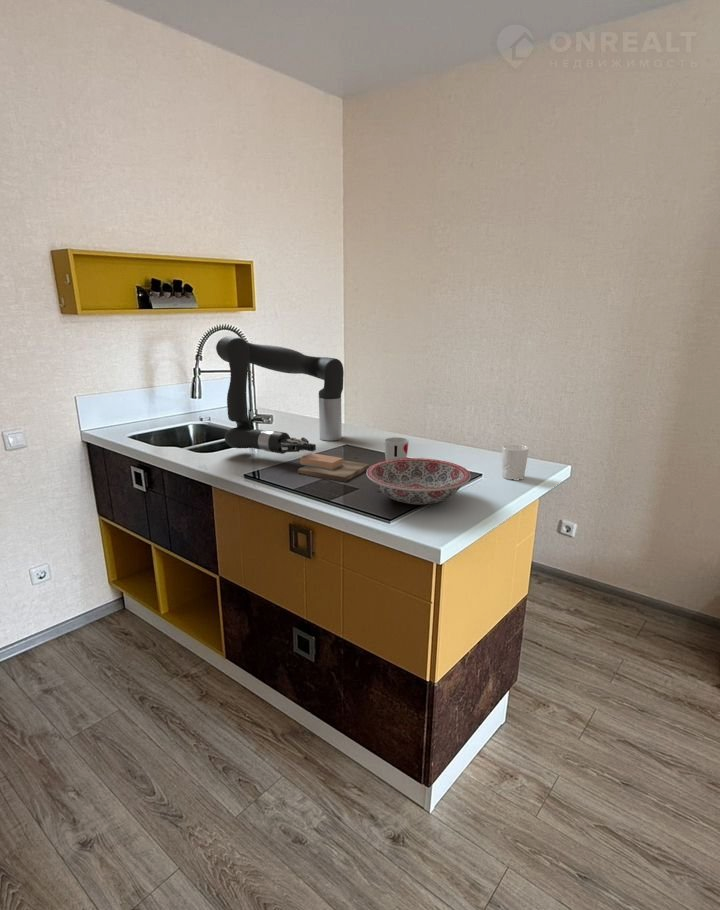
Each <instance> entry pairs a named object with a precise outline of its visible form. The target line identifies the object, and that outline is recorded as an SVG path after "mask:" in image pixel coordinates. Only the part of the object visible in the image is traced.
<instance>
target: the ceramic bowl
mask: <svg viewBox="0 0 720 910" xmlns="http://www.w3.org/2000/svg"><path fill="white" fill-rule="evenodd" d="M365 472H366V476H367V478H368V479H369V480H370V481H371V482H373V483H374V484H375V485H376V487H377V488H378V489H379V490H380V492H381V493H383V494H384V495H385V496H387V497H388V498H390V499H392V500H393V501H396V502H400V503H403V504H409V505H431V504H432V505H433V504H437V503H440V502H444V501H445V500H447V499H449V498H451V497H452V496H454V494H456V493H457V492H458V491H459V490H460V488H461V487H462V486H464V485H466V484H467V483H468V482H470V480H471V477H472V476H471V472H470V471H469V470H468V469H466V468H465V467H463V466H461V465H459V464H457V463H453V462H451V461H445V460H439V459H432V458H424V457H423V458H422V457H416V458H415V457H413V458H412V457H410V458H409V457H406V458H403V459H393V460H387V461H386V460H384V461H379V462H377V463H375V464H374V463H373V465H371V466H369V468H368V470H366V471H365Z"/></svg>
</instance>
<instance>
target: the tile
mask: <svg viewBox="0 0 720 910" xmlns="http://www.w3.org/2000/svg"><path fill="white" fill-rule="evenodd" d="M299 460H300V461H299V463H300V465H303V466H306V465H308V466H313V467H319V468H324V469H330V470H333V469H335V468H338V467H340V466H342V465H343V460H344V458H343V457H338V456H332V455H331V456H330V455H325V454H320V453H313V452H310V453H308V454H305V455H302V456H300V457H299Z"/></svg>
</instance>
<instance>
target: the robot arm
mask: <svg viewBox="0 0 720 910" xmlns="http://www.w3.org/2000/svg"><path fill="white" fill-rule="evenodd" d="M215 350H216V353H217V355H218V356H219V358H220V359H221V360H223V361H225V362H227V363H228V364H229V365H228V366H229V370H230V371H229V372H230V378H229V379H230V380H229V386H228V391H227V397H226V406H227V408H226V409H227V418H228V420H229V421H230V422H235V424H236V427H232V428H230V429H228V430H227V431H226V432H225V434H224V441H225V443H226V444H227V445H228V446H229V447H231V448H233V449H256V450H261V451H264V452H265V451H266V452H269V453H274V454H275V453H276V454H280V455H281V454H282V455H283V454H286V453H296V452H297V453H298V452H299V453H300V451H301V452H303V451H308V452H314V451H316V450H317V448H316V447H317V445H316V444H315V443H310V442H309V440H308V439H307V438H306V437H301V438H300V439H299V438H296V437H291V436H290V435H289V433H287V432H283V431H277V430H276V431H275V430H265V429H264V430H263V429H253V427H252V423H251V421H250V419H249V416H248V415H249V414H248V401H247V400H248V396H247V393H248V392H247V388H248V387H247V386H248V374H249V373H248V372H249V364H251V365H254V366H258V367H261V368H264V369H266V370H271V371H274V372H278V373H283V374H293V375H294V374H295V375H297V374H299V375H300V374H303V375H306V376H307V375H308V376H310V377H314V378H316V379H320V380H323V383H324V384H323V388H321V389H319V391H318V420H319V421H318V422H319V427H318V428H319V430H318V431H319V440H320V441H321V440H322V441H328V442H329V441H330V442H331V441H338V440H341V439H343V438H342V437H343V436H342V435H343V434H342V430H343V429H342V426H343V425H342V393H343V391H344V390H343V389H344V376H345V375H344V374H345V372H344V366H343V363H342V362H341V360H340V359H338V358H335V357H326V356H324V357H323V356H322V357H321V356H312V355H306V354H304V353H302V352H299V351H298V350H294V349H291V348H288V347H283V346H277V345H269V344H268V345H267V344H259V343H258V344H257V343H252V342H249V341H246V340H245V339H244V338H242V337H239V336H232V335H226V336H223V337H222V338H220V339H219V340H218V341H217V343H216V345H215Z"/></svg>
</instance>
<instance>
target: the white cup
mask: <svg viewBox="0 0 720 910" xmlns="http://www.w3.org/2000/svg"><path fill="white" fill-rule="evenodd" d="M528 455H529V447H528V446H526V445H523V444H517V443H516V444H515V443H511V444H510V443H509V444H504V445H502V453H501V457H502V458H501V462H502V463H501V469H502V470H501V471H502V472H501V473H502V474H501V476H502V478H503V477H505V478H508V479H522V478H523V479H525V476H526V475H525V472H526V469H527V462H528ZM505 478H504V479H505ZM508 479H507V480H508ZM523 479H522V480H523Z"/></svg>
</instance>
